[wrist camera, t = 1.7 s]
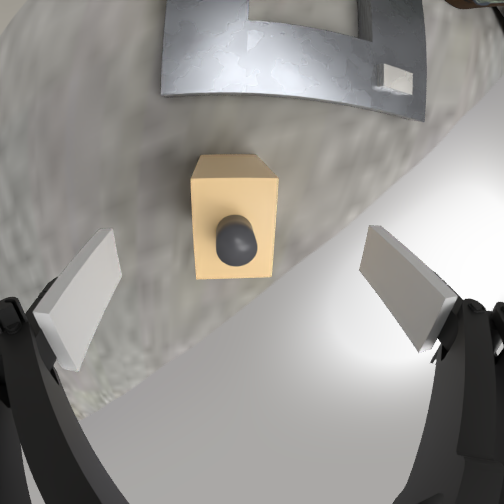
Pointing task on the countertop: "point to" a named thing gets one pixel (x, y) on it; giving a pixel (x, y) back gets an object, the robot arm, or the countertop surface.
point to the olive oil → (475, 3)
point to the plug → (233, 216)
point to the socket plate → (298, 56)
